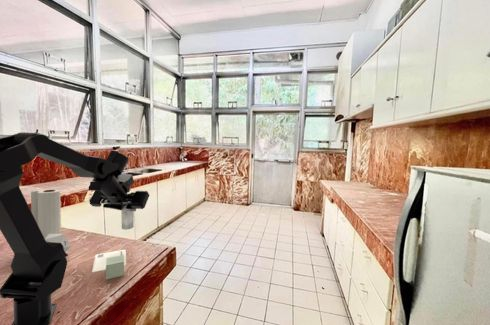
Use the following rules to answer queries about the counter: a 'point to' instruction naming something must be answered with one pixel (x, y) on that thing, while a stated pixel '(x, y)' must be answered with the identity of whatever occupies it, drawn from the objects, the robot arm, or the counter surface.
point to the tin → (127, 217)
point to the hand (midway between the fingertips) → (129, 209)
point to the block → (115, 267)
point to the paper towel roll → (47, 211)
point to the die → (58, 240)
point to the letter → (101, 259)
